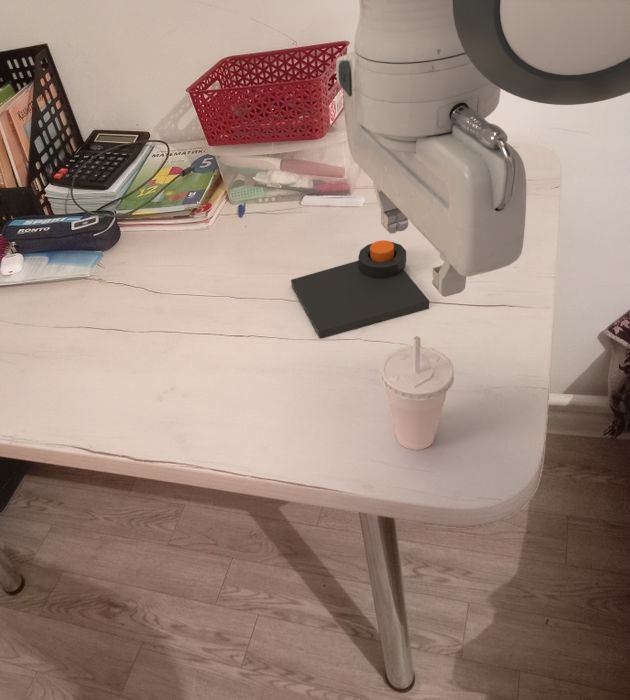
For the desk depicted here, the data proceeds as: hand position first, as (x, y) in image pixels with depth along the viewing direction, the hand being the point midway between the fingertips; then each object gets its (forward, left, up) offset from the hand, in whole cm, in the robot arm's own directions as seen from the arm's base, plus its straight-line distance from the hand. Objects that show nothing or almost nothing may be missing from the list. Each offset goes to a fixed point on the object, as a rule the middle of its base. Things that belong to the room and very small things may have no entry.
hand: (419, 256), depth 49 cm
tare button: (-8, -27, -20) cm, 35 cm away
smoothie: (0, 0, -23) cm, 23 cm away
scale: (-3, -24, -22) cm, 33 cm away
